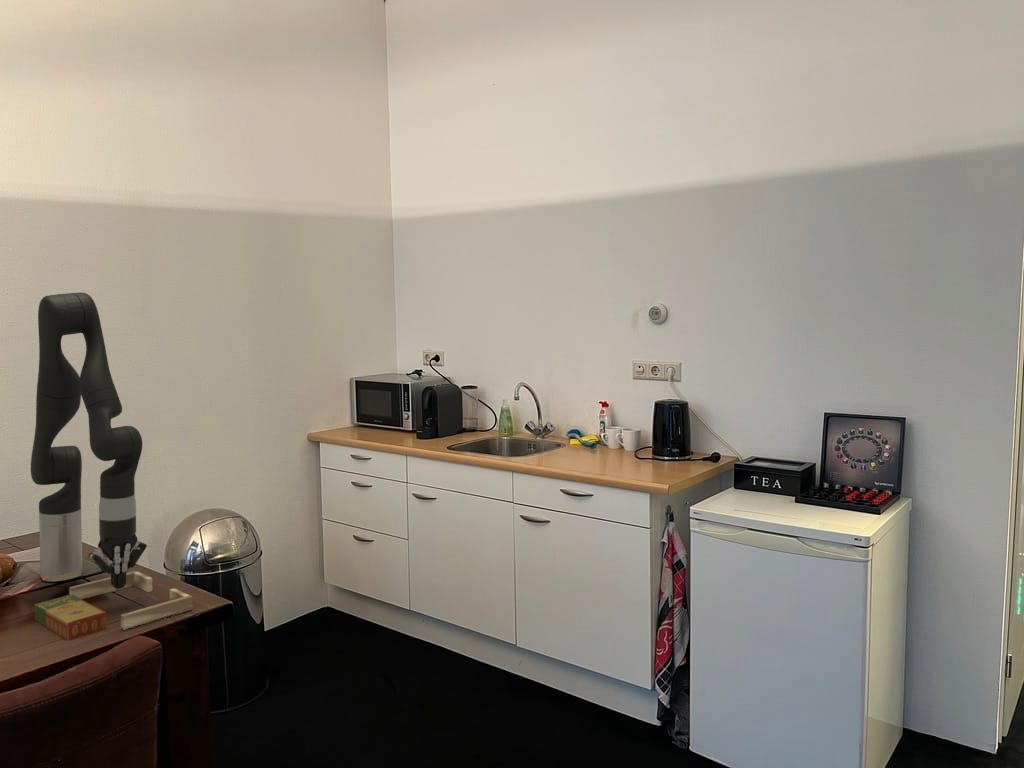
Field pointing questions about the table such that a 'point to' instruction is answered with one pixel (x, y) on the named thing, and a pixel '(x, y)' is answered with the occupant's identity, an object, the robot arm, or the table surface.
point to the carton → (70, 616)
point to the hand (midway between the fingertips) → (118, 587)
